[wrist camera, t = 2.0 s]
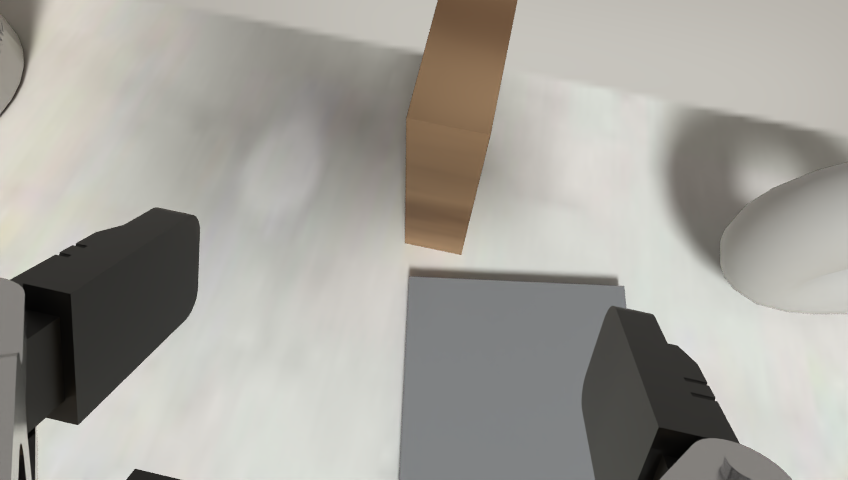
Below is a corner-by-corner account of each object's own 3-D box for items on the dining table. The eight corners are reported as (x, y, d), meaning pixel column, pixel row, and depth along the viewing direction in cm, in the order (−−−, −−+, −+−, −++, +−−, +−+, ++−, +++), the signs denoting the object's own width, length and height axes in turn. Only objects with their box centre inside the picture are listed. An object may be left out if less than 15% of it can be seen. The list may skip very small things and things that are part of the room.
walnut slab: (461, 254, 26) (490, 134, 18) (405, 243, 26) (406, 117, 18) (484, 139, 29) (521, -17, 20) (433, 129, 29) (446, -31, 20)
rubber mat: (396, 543, 22) (396, 544, 21) (408, 281, 26) (409, 276, 25) (644, 553, 22) (650, 554, 21) (619, 290, 26) (624, 286, 25)
